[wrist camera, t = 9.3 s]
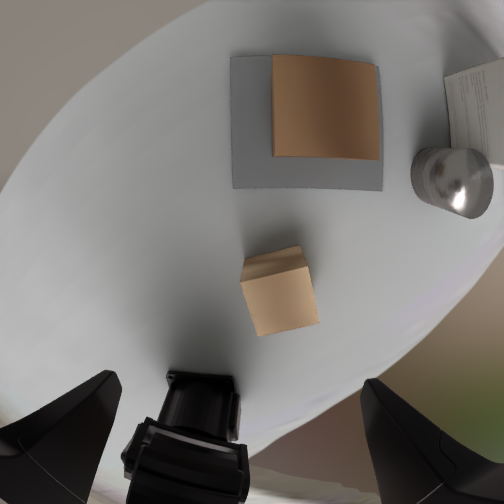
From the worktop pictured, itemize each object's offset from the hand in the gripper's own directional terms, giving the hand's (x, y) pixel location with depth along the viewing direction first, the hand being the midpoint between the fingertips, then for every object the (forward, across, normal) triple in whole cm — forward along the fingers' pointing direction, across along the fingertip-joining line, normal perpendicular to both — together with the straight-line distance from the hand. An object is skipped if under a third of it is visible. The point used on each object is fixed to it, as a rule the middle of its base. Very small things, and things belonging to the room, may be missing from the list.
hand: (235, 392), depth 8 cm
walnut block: (+11, -4, -10) cm, 15 cm away
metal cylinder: (+12, -14, -7) cm, 20 cm away
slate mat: (+12, -4, -10) cm, 16 cm away
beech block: (+12, -2, +1) cm, 12 cm away
